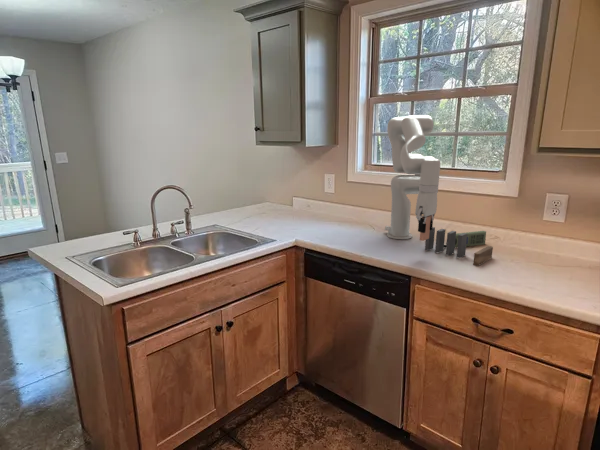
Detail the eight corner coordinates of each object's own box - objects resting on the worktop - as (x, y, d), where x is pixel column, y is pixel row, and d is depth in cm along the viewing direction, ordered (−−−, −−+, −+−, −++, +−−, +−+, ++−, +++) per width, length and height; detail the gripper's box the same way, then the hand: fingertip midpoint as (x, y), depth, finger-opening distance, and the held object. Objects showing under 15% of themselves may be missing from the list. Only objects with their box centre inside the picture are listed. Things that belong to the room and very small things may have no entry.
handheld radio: (486, 245, 188) (442, 250, 180) (481, 243, 191) (437, 248, 183) (487, 231, 186) (443, 236, 179) (482, 230, 189) (438, 234, 182)
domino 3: (435, 252, 177) (436, 230, 174) (440, 249, 180) (442, 228, 178) (438, 253, 176) (440, 231, 173) (443, 250, 179) (445, 229, 176)
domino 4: (445, 254, 173) (447, 232, 171) (450, 252, 176) (452, 230, 174) (449, 255, 172) (450, 233, 170) (454, 253, 175) (456, 231, 173)
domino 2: (424, 249, 180) (426, 228, 178) (430, 247, 183) (431, 226, 181) (428, 250, 179) (429, 229, 177) (433, 248, 182) (435, 227, 180)
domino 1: (419, 240, 167) (421, 217, 164) (425, 237, 170) (427, 215, 168) (423, 240, 166) (424, 218, 163) (429, 238, 169) (430, 216, 167)
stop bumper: (473, 264, 160) (474, 253, 159) (486, 256, 170) (488, 245, 168) (478, 265, 159) (479, 254, 158) (491, 258, 168) (492, 246, 167)
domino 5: (456, 257, 170) (458, 235, 167) (461, 254, 173) (463, 232, 171) (460, 258, 168) (462, 235, 166) (465, 255, 172) (467, 233, 169)
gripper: (430, 185, 171) (427, 225, 175) (409, 190, 159) (406, 233, 164) (446, 187, 165) (442, 228, 170) (426, 192, 154) (422, 236, 159)
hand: (425, 230), depth 167 cm, fingers closed on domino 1, 4 cm apart
